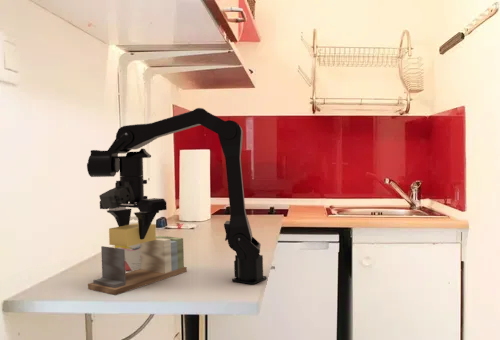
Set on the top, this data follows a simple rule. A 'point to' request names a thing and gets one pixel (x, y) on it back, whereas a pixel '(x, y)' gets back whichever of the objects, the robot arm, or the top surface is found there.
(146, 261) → the brown book holder
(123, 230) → the ochre book
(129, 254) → the ink cartridge box
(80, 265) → the top surface
